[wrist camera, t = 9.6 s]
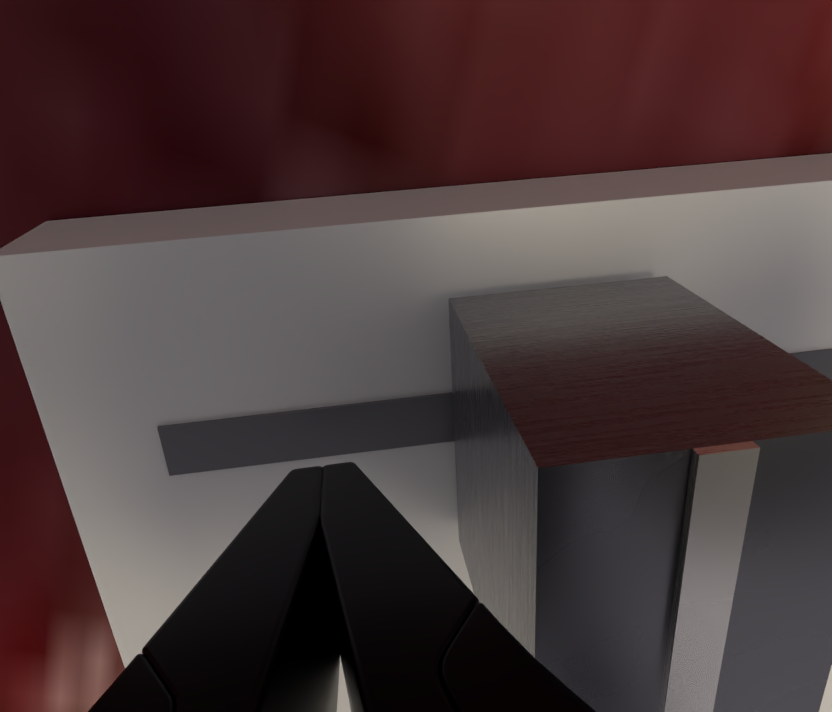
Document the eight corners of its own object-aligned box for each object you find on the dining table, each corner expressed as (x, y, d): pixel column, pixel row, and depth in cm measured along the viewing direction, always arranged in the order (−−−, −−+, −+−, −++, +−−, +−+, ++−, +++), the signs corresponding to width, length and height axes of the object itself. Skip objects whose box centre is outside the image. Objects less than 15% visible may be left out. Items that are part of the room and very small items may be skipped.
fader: (643, 515, 11) (814, 758, 7) (458, 540, 10) (535, 808, 7) (666, 276, 9) (908, 428, 5) (448, 298, 9) (541, 476, 5)
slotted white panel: (1010, 765, 19) (1084, 841, 18) (246, 903, 17) (237, 1006, 16) (1319, 110, 12) (1504, 120, 10) (46, 221, 10) (-17, 258, 8)
